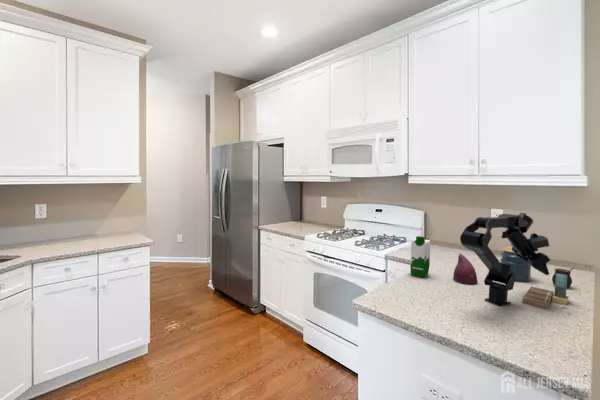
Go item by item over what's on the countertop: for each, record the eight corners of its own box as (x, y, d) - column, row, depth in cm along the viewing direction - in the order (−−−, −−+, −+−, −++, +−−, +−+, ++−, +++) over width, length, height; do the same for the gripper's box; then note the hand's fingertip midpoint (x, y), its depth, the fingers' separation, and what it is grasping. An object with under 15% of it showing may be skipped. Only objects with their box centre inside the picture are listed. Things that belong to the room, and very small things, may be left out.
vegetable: (451, 287, 151) (443, 257, 151) (458, 280, 158) (450, 251, 158) (475, 288, 143) (466, 256, 144) (481, 280, 151) (473, 249, 151)
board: (547, 309, 119) (548, 303, 119) (522, 302, 125) (522, 297, 125) (553, 295, 134) (553, 290, 134) (530, 290, 139) (530, 286, 139)
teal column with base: (566, 305, 123) (569, 278, 123) (552, 302, 127) (554, 275, 126) (568, 300, 128) (570, 274, 128) (553, 297, 132) (555, 271, 131)
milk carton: (408, 275, 158) (410, 236, 156) (412, 271, 165) (414, 234, 164) (426, 279, 153) (428, 238, 152) (430, 274, 160) (432, 236, 159)
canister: (534, 279, 156) (537, 244, 155) (523, 284, 149) (526, 247, 147) (506, 272, 167) (508, 240, 165) (494, 276, 159) (496, 242, 158)
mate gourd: (550, 282, 151) (552, 262, 150) (571, 286, 147) (573, 265, 146) (551, 286, 145) (553, 265, 145) (573, 290, 141) (575, 269, 140)
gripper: (550, 235, 117) (576, 268, 117) (526, 223, 135) (548, 251, 135) (522, 251, 120) (547, 283, 120) (502, 237, 138) (523, 265, 138)
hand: (541, 270), depth 128 cm, fingers open, 9 cm apart
